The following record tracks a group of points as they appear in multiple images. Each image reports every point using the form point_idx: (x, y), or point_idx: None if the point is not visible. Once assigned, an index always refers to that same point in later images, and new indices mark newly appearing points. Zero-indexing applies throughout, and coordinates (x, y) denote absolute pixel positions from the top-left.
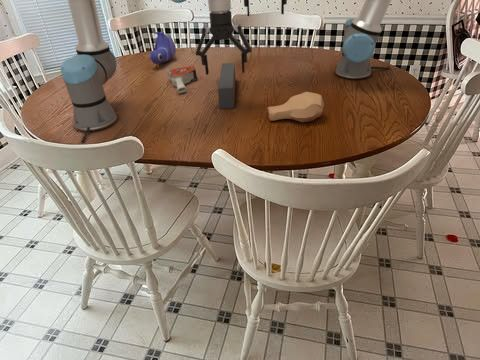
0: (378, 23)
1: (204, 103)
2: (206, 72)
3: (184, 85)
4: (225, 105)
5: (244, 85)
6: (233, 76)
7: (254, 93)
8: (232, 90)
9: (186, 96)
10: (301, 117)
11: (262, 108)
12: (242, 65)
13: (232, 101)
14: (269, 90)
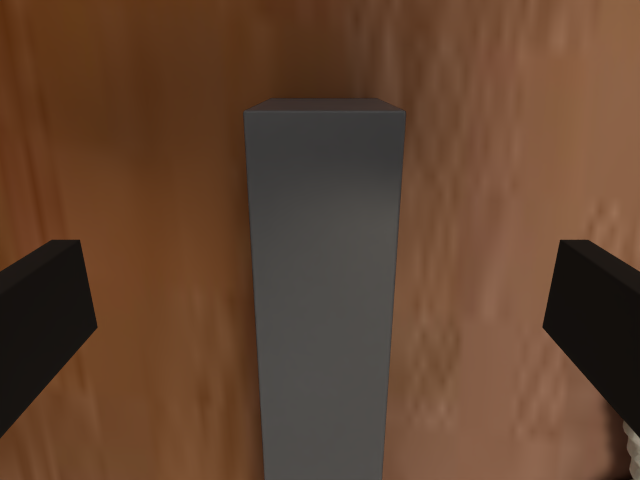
0: None
1: (491, 203)
2: (596, 251)
3: (633, 436)
4: (334, 99)
5: (224, 443)
6: (260, 399)
7: (146, 325)
8: (252, 108)
9: None
10: None
11: (50, 66)
12: (5, 284)
13: (273, 101)
14: None
